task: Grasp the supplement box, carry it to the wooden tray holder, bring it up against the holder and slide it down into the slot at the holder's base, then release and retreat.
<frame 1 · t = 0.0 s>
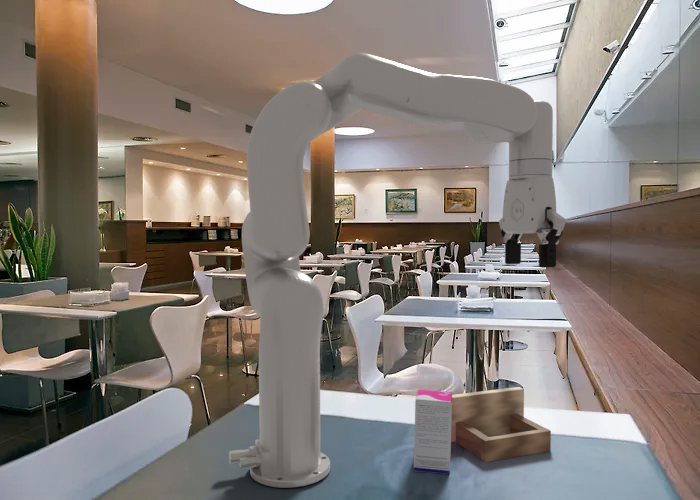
hand: (529, 265, 100), 31 cm above the table, fingers open, 9 cm apart
supplement box: (432, 466, 88), on the table
wooden tray holder: (475, 436, 100), on the table
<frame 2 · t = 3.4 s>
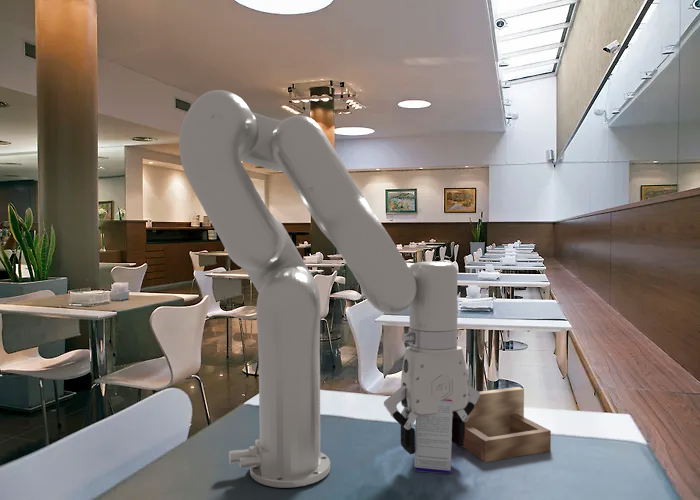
hand: (433, 446, 88), 3 cm above the table, fingers open, 8 cm apart
supplement box: (433, 466, 88), on the table, touching gripper
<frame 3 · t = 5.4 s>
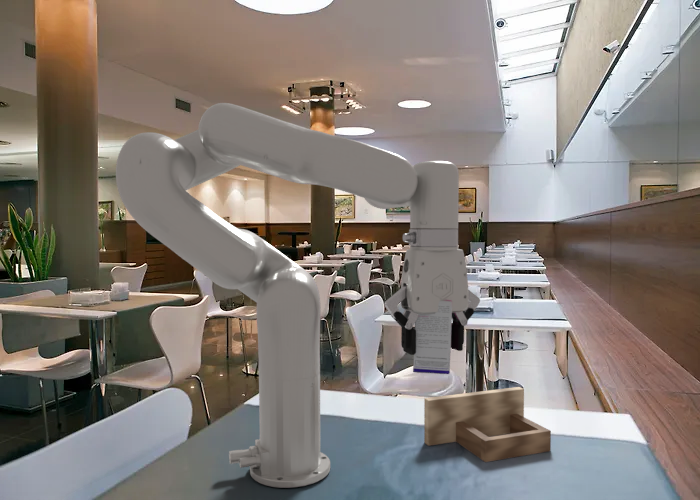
hand: (432, 350, 87), 19 cm above the table, fingers closed on supplement box, 7 cm apart
supplement box: (432, 370, 88), point 15 cm above the table, touching gripper
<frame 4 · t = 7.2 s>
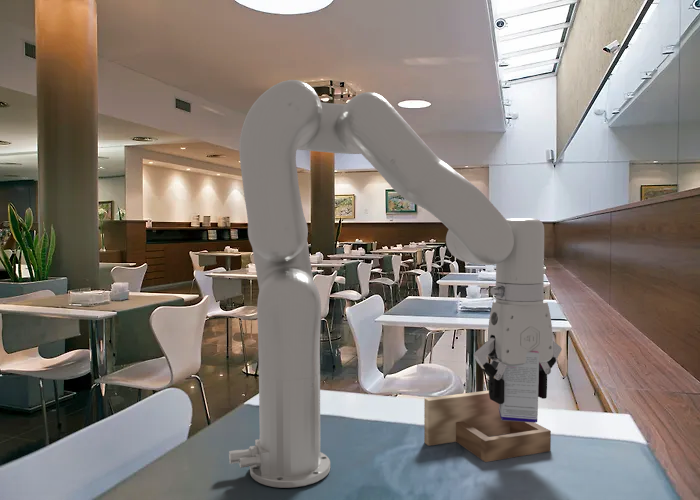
hand: (518, 398, 91), 10 cm above the table, fingers closed on supplement box, 7 cm apart
supplement box: (517, 417, 91), point 7 cm above the table, touching gripper
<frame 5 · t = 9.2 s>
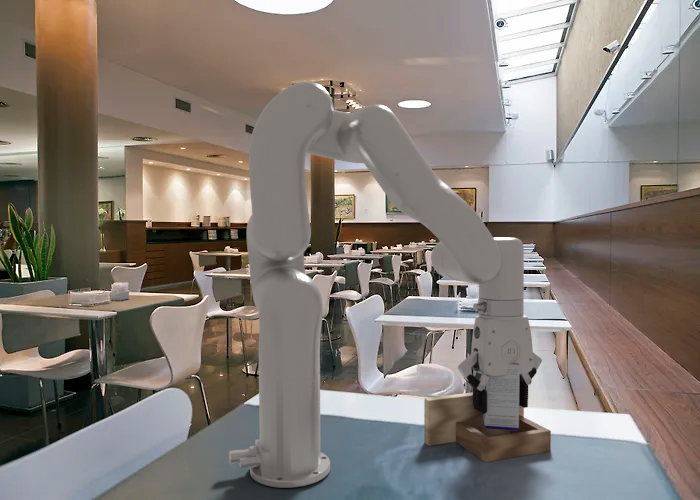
hand: (500, 407, 96), 7 cm above the table, fingers closed on supplement box, 7 cm apart
supplement box: (500, 425, 96), point 3 cm above the table, touching gripper
when the fingers open (5 cm above the table, at t = 10.7 s): supplement box drops 2 cm, resting in wooden tray holder.
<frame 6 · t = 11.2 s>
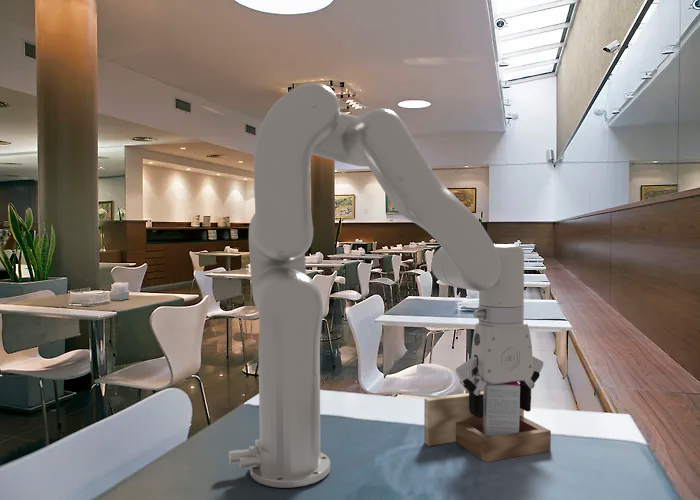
hand: (500, 412, 96), 6 cm above the table, fingers open, 9 cm apart
supplement box: (500, 446, 96), resting in wooden tray holder
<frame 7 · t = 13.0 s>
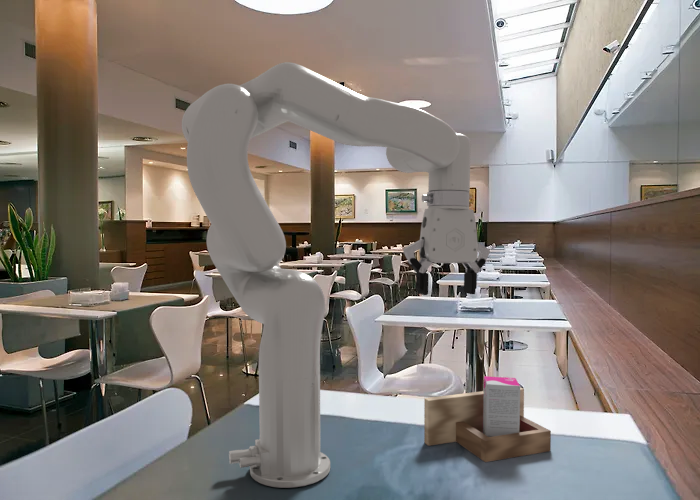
hand: (446, 293, 102), 26 cm above the table, fingers open, 9 cm apart
nothing on the table moved.
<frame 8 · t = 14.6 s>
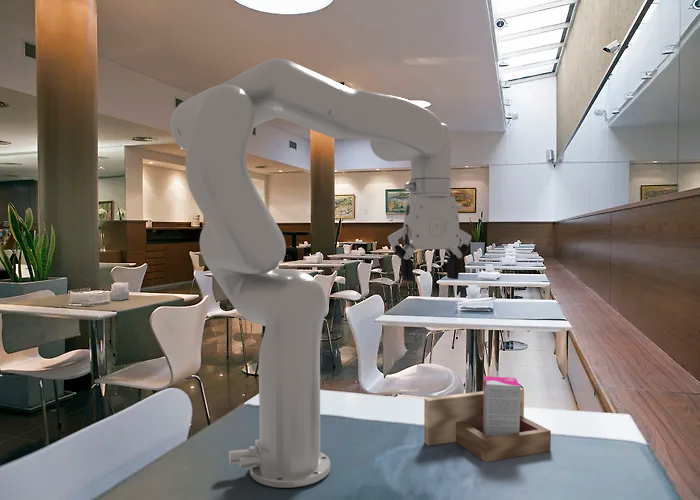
hand: (430, 279, 105), 28 cm above the table, fingers open, 9 cm apart
nothing on the table moved.
at the end: supplement box inside the target area (0.1 cm from its centre), resting in wooden tray holder; supplement box tilted 0°; the gripper is holding nothing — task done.
